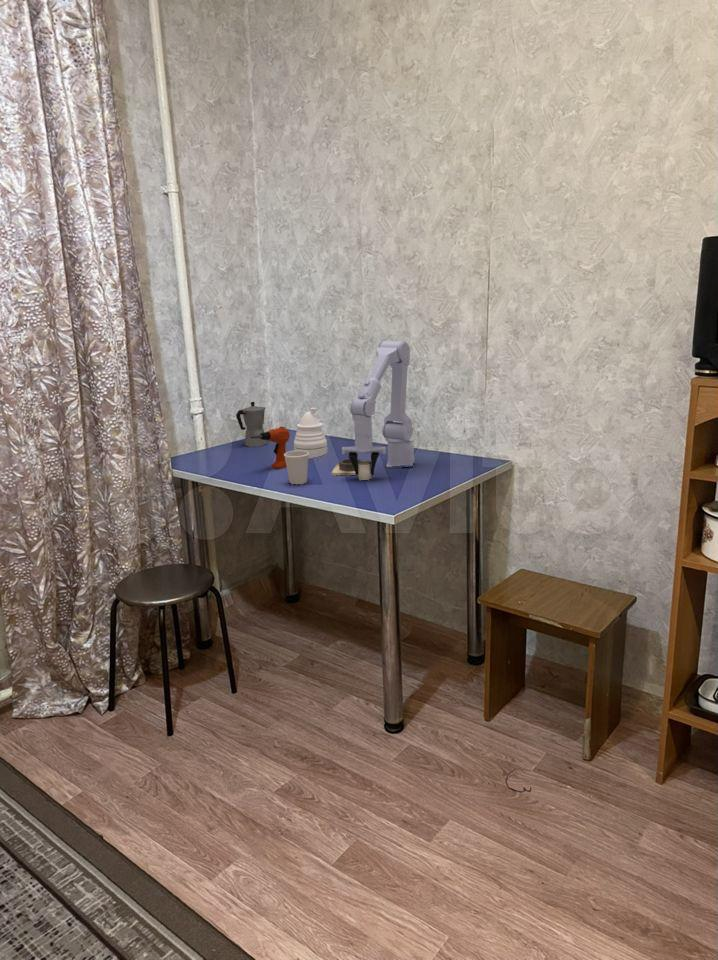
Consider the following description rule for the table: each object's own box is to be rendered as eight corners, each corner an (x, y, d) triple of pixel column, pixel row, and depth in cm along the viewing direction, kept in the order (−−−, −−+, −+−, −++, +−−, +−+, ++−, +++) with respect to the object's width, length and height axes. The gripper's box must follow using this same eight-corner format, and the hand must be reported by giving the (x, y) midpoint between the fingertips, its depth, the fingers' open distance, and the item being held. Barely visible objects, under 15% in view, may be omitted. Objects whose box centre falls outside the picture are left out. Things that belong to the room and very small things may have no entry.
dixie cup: (306, 486, 229) (304, 456, 227) (282, 485, 231) (280, 456, 229) (313, 479, 237) (312, 450, 234) (290, 478, 239) (288, 450, 236)
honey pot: (329, 450, 277) (327, 405, 272) (324, 458, 265) (322, 411, 260) (297, 450, 279) (295, 405, 274) (291, 458, 266) (288, 411, 262)
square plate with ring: (369, 466, 251) (369, 457, 250) (366, 475, 239) (365, 465, 238) (336, 466, 252) (336, 457, 251) (331, 475, 241) (331, 465, 240)
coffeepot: (260, 440, 299) (257, 398, 294) (275, 443, 293) (272, 400, 288) (232, 447, 288) (228, 404, 283) (246, 450, 282) (243, 406, 277)
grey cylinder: (372, 477, 237) (371, 460, 236) (370, 480, 233) (370, 463, 231) (359, 477, 238) (358, 460, 236) (357, 480, 234) (357, 463, 232)
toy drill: (245, 470, 245) (246, 428, 243) (283, 465, 260) (284, 425, 257) (255, 472, 242) (255, 429, 240) (293, 467, 257) (294, 426, 254)
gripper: (339, 437, 228) (341, 477, 232) (384, 437, 226) (385, 477, 230) (342, 432, 235) (344, 471, 239) (386, 432, 233) (387, 471, 237)
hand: (364, 474), depth 235 cm, fingers open, 5 cm apart
